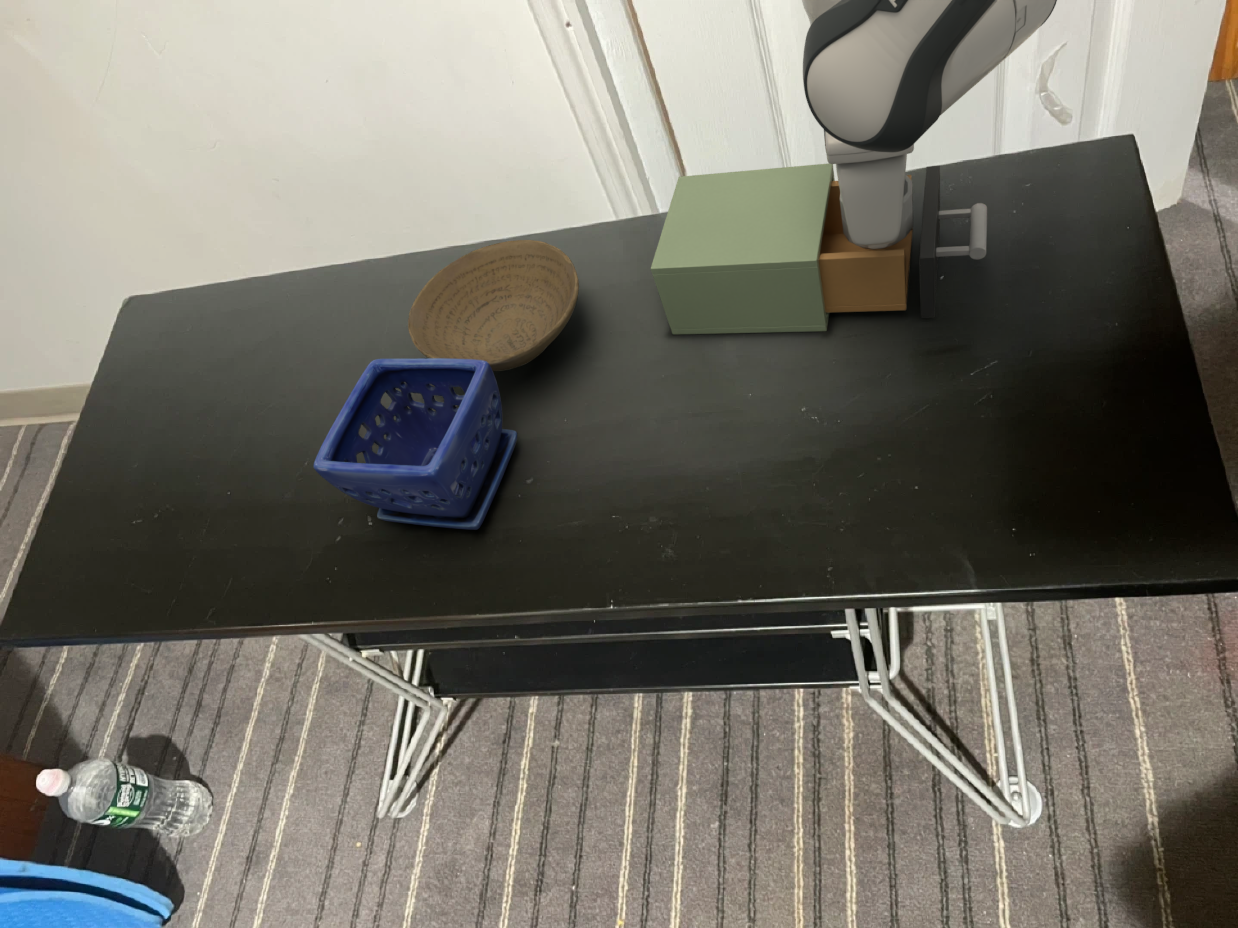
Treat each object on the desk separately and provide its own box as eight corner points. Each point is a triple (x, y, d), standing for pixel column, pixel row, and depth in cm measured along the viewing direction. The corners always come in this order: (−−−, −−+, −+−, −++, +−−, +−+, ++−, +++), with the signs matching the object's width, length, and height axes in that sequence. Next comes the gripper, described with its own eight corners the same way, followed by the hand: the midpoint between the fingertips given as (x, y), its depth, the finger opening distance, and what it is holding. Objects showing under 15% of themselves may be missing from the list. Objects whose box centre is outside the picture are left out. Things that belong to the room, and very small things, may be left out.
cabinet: (840, 235, 93) (832, 162, 86) (826, 331, 86) (816, 260, 79) (697, 244, 99) (678, 176, 92) (672, 334, 91) (650, 268, 84)
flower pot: (423, 429, 93) (367, 353, 84) (536, 435, 88) (489, 354, 79) (372, 538, 86) (305, 468, 77) (491, 551, 81) (434, 477, 72)
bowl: (603, 275, 100) (581, 219, 94) (595, 400, 89) (569, 346, 83) (452, 306, 104) (421, 254, 98) (427, 428, 93) (391, 378, 87)
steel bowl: (925, 214, 82) (925, 174, 79) (893, 259, 80) (891, 220, 77) (864, 201, 86) (861, 162, 82) (831, 244, 83) (827, 206, 80)
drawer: (985, 223, 87) (988, 161, 81) (983, 316, 80) (987, 254, 75) (793, 235, 94) (784, 178, 88) (777, 321, 87) (766, 265, 81)
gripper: (831, 14, 78) (844, 149, 88) (824, 161, 66) (840, 296, 77) (907, 0, 76) (911, 140, 86) (914, 149, 64) (917, 288, 75)
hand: (877, 214), depth 81 cm, fingers closed on steel bowl, 6 cm apart
